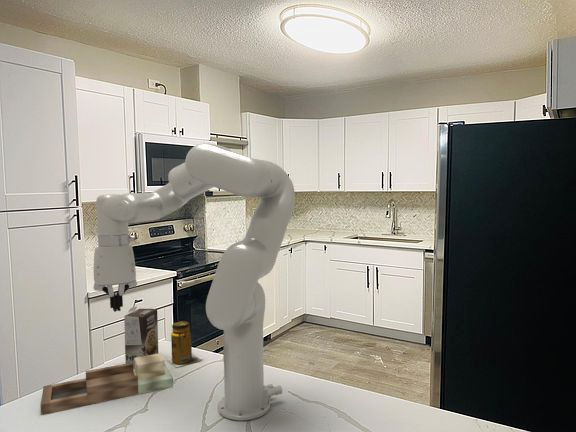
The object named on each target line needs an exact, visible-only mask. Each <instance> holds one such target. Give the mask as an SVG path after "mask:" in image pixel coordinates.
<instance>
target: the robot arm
mask: <svg viewBox="0 0 576 432" xmlns="http://www.w3.org/2000/svg"><path fill="white" fill-rule="evenodd" d="M167 176H168V177H167V178H168V183H167V184H165V185H163V186H161V187H159V188H158V189H156V190H154V191H151V192H128V193H121V194H100V195H98V197H97V198H96V200H95V203H96V204H95V206H96V221H97V223H96V226H97V244H98V245H97V246H96V247H95V248H94V251H93V252H94V253H93V281H94V284H93V287H92V288H93V290H94V291H96V292H97V291H99V292H104V293H105V294H107V296H109V306H110V307H109V308H110V309H112V310H113V312H121V308H122V307H124V304H123V303H124V302H123V301H124V300H123V295H124V294H125V293H126V292H127V291H128V290H129V289H131V288H133V287H136V286H138V281H137V272H136V261H135V254H134V250H133V245H131V244H130V243H131V242H134V241H135V240H136V239H135V235H131V234H129V224H134V223H135V224H136V223H142V222H143V223H144V222H151V221H156V220H160V219H161V218H163V217H165V216H168V215H170V214H171V213H174V212H175V211H178V210H180V208H182V207H183V206H184V205H185V204H187V203H188V202H189V201H190V200H191V199H193V198H195V197H197V196H199V195H201V194H203V193H205V192H207V191H209V190H210V189H213V188H217V189H219V190H223V191H225V192H228V193H230V194H233V195H236V196H238V197H243V198H244V197H245V198H251V199H253V198H259V201H258V205H257V207H256V208H255V211H254V212H253V214H252V217H251V220H250V222H249V225H248V228H247V231H246V234H245V236H244V238H243V239H242V240H240V241H236V242H234V243H232V244H230V246H228V247H227V248H226V249H225V250H224V252H223V254H222V255H221V258H220V259H219V263H218V264H217V267H216V270H215V274H214V277H213V278H212V279H213V280H212V281H211V282H212V283H211V285H210V288H209V291H208V294H207V297H206V300H205V314H206V317H207V319H208V321H209V322H210V324H211V325H212V326H213V327H215V328H216V329H219V330H221V331H222V330H223V335H222V337H223V341H222V342H223V384H224V385H223V386H224V396H223V397H222V398H221V399H220V400H219V402H218V403H217V404H218V405H217V409H218V412H219V414H220V415H221V416H222V417H224V418H226V419H229V420H233V421H251V420H255V419H257V418H260V417H262V416H264V415H265V414H267V413H268V412H269V410H270V408H271V400H270V399H271V398H272V396H277V395H282V394H283V387H282V385H278V386H274V385H273V383H270V384H267V385H264V383H265V381H264V320H265V311H266V310H265V309H266V295H265V291H264V288H263V286H262V285H261V283H259V282H258V281H259V280H260V279H262V278H263V277H266V276H267V275H268V274H269V273H271V271H272V270H273V269H274V267H275V263H276V262H277V261H276V260H277V257H278V254H279V251H280V249H281V247H282V244H283V242H284V238H285V235H286V232H287V228H288V225H289V223H290V220H291V217H292V214H293V211H294V209H295V203H296V202H295V201H296V199H295V198H296V192H295V186H294V184H293V181H292V179H291V177H290V176H289V175H288V173H287V172H286V171H285V170H284V169H283V168H282V167H281V166H280V165H279V164H276V163H274V162H272V161H269V160H264V159H258V158H252V157H249V156H245V155H242V154H238V153H235V152H233V151H232V150H231V149H230V148H228V147H225V146H223V145H218V144H215V143H210V142H202V143H199V144H196V145H194V146H193V147H192V148H191V149H190V150H189V151H188V152H187V153H186V157H185V162H183V163H181V164H179V165H177V166H175V167H173V168H171V170H169V172H168V175H167ZM114 285H115V286H116V285H117V287H118V288H117V292H114V288H113V286H114Z"/></svg>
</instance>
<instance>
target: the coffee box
mask: <svg viewBox="0 0 576 432" xmlns="http://www.w3.org/2000/svg"><path fill="white" fill-rule="evenodd" d="M123 318H124V321H123V323H124V359H125V361H124V362H125V363H124V364H127V363H133V369H135V361H134V358H136V357H142V356H148V355H153V354H159V353H160V352H159V323H158V308H138V309H136V310H134V311H132V312H130V313H128V314H126V315H124V317H123Z"/></svg>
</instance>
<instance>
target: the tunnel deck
mask: <svg viewBox="0 0 576 432" xmlns="http://www.w3.org/2000/svg"><path fill="white" fill-rule="evenodd" d="M164 365H165V375H161V376H156V377H151V378H146V379H141V380H138V376H137V375H136V373H135V369H133V363H127V364H125V363H122V364H117V365H113V366H105V367H100V368H95V369H89V370H85V377H84V378H81V379H74V380H70V381H63V382H60V383H59V382H58V383H54V384H47V385H44V386H43V388H42V392H41V393H42V394H41V402H40V415H41V416H44V415H47V414H53V413H56V412H57V413H58V412H61V411H66V410H71V409H76V408H80V407H81V408H82V407H85V406H89V405H90V406H92V405H94V404H95V405H96V404H99V403H104V402H109V401H113V400H118V399H119V400H120V399H122V398H123V399H124V398H127V397H133V396H136V395H137V396H138V395H142V394H146V393H152V392H156V391H161V390H165V389H170V388H174V377H173V375H172V373H171V372H170V370H169V368H168V366H167V364H166V363H164Z"/></svg>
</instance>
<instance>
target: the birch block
mask: <svg viewBox="0 0 576 432" xmlns="http://www.w3.org/2000/svg"><path fill="white" fill-rule="evenodd" d="M158 353H159V354H153V355H148V356H142V357H136V358H134V361H135V373H136V375H137V376H138V380H141V379H146V378H151V377H156V376H161V375H165V365H164V364H165V359H164V357H163V356H162V354H161V352H158Z"/></svg>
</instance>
